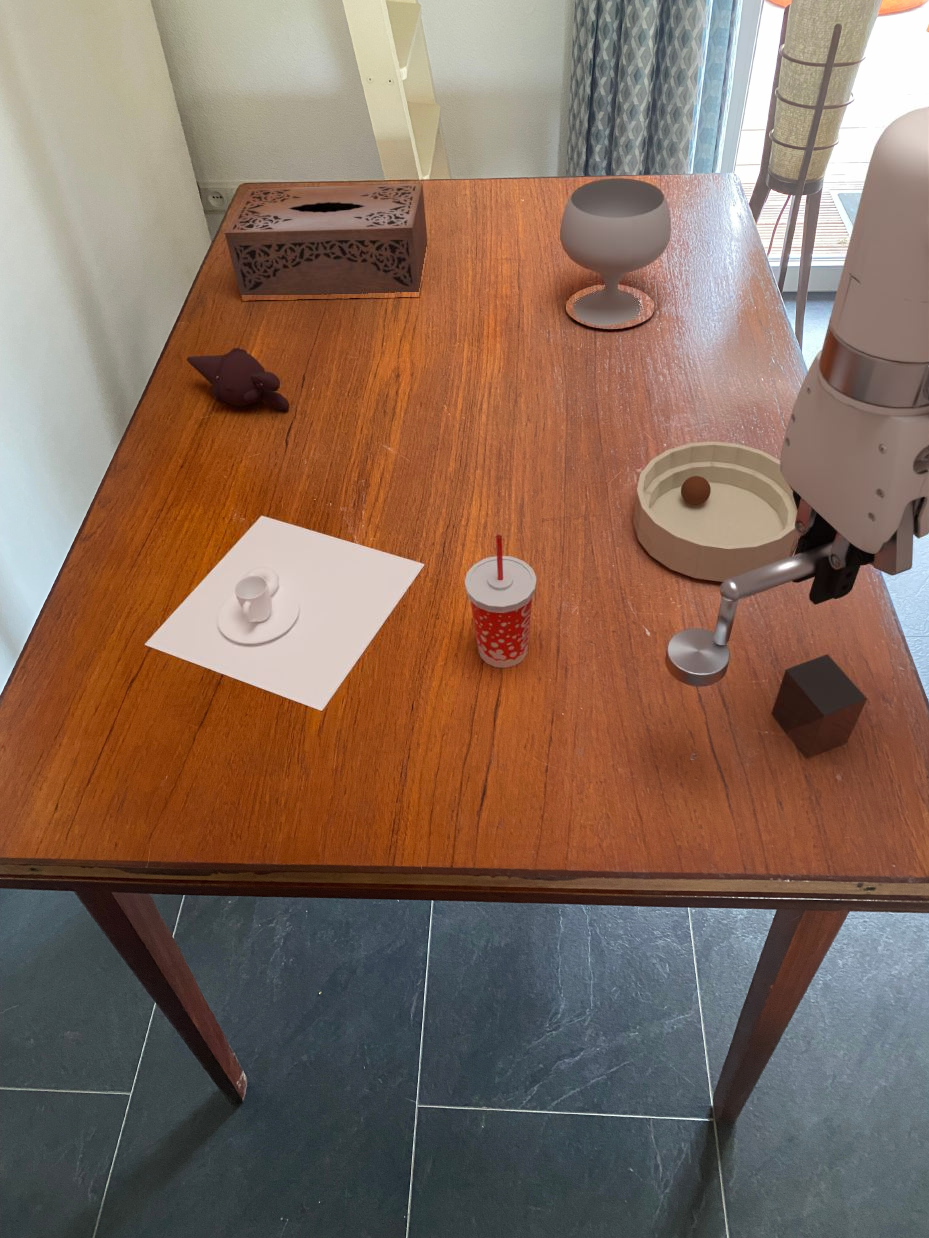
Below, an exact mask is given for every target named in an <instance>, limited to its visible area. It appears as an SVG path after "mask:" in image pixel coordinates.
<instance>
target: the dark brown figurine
mask: <svg viewBox="0 0 929 1238" xmlns="http://www.w3.org/2000/svg"><path fill="white" fill-rule="evenodd" d="M186 361H187V362H188V363H189V364H190V365H191V366H192V367H193V368H194V369H195V370H196V371H197V372H198V374H200V375H202V377H203V378H204V379H205V380H206V381H207V382H208V383H209V384H210V385H211V386H210V388H209V389H210V391H209V392H210V394H211V396H213V397H214V398H215V400H216V402H219V403H222V404H224V405H233V406H235V407H243V406H248V405H251V404H255V403H257V402H258V401H260V400H261V401H263V402H264V403H265V404H267V405H268V406H270V407H271V408H274V409H275V410H278V411H281V412H285V411H286V412H287V411H288V410H289V408H290V403H289V401H288V399H287V398H286V397H284V395H282V394H281V393H280V392H278V391H279V389H280V388H281V381H280V378H279V377H278V376H277V375H276V374H275V373H273V372H270V371H266V370H265V368H264V366H263V365H262V364H261V363H260V362H259V361H258V360H257V359H256V358H255V357H254V356H252V354H249V353H248V351H247V350H246V349H244V348H240V347H234V348H232V349H231V350H230V351H229V352H227V353H225V354H216V355H194V356H187V357H186Z"/></svg>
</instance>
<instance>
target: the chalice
mask: <svg viewBox="0 0 929 1238" xmlns="http://www.w3.org/2000/svg"><path fill="white" fill-rule="evenodd" d="M562 213H563V214H562V218H561V222H560V228H559V240H560V243H561V246H562V249H563V251H564V253H565V254H566V256H568V258H569V259H570V260H571V261H573V262H574V263H575V264H576V265H578V266H580V267H582V268H584V269H586V270H589V271H590V272H591V271H592V272H594V273H597V274H599V276H601V277H602V280H603V282H604V283H603V284H605V287H604V289H602V290H597V291H595V292H594V291H593V292H594V293H593V292H592V293H589V294H587V295H585V296H583V297H580V299H579V298H578V299H579V300H577V299H576V300H577V301H576V302H575V301H574V302H575V303H573V304H574V306H573V308H574V310H575V311H574V310H573V312H575V313H574V314H577V315H575V316H577V317H579V318H578V320H582V321H585V322H587V323H590V324H594V325H596V326H597V325H598V326H599V327H600V326H604V327H605V326H607V325H608V326H611V325H613V324H616V325H618V324H621V323H623V322H625V323H627V322H626V321H628V322H630V321H629V320H632V319H636V317H637V316H640V315H641V314H640V315H638V314H639V312H640V311H641V310H640V307H642V306H640V305H641V304H640V302H639V301H638V300H639V299H640V298H639V299H638V298H635V297H636V296H635V297H634V295H632V294H631V293H628V292H625V291H621V290H619V289H618V284H620V281H621V279H622V278H623V277H624V276H625V275H626V274H629V273H633V272H635V271H639V270H642V269H644V268H646V267H648V266H649V265H651V264H653V263H654V262H655V261H657V260H658V259H659V258H660V257H661V256H662V255H663V254H664V252H665V251H666V250H667V247H668V245H669V243H670V241H671V234H672V223H671V221H672V220H671V211H670V207H669V203H668V201H667V198H666V196H665V194H664V192H663V191H662V190H661V189H660V188H659V187H657V186H656V185H654V184H652V183H649V182H647V181H644V180H639V179H634V178H624V177H623V178H621V177H619V178H617V177H615V178H613V177H612V178H603V179H597V180H593V181H590V182H588V183H585V184H582V185H580V186H579V187H577V188H576V189H574V190H573V192H572V194H571V195H570V196H569V198H568V200H567V202H566V205H565V207H564V209H563V212H562ZM575 304H576V305H575ZM639 304H640V305H639ZM637 309H638V310H637ZM640 313H641V312H640ZM634 316H636V317H634ZM576 319H577V318H576ZM582 321H581V322H582ZM583 323H584V322H583ZM623 324H624V323H623ZM613 326H615V325H613Z"/></svg>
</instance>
